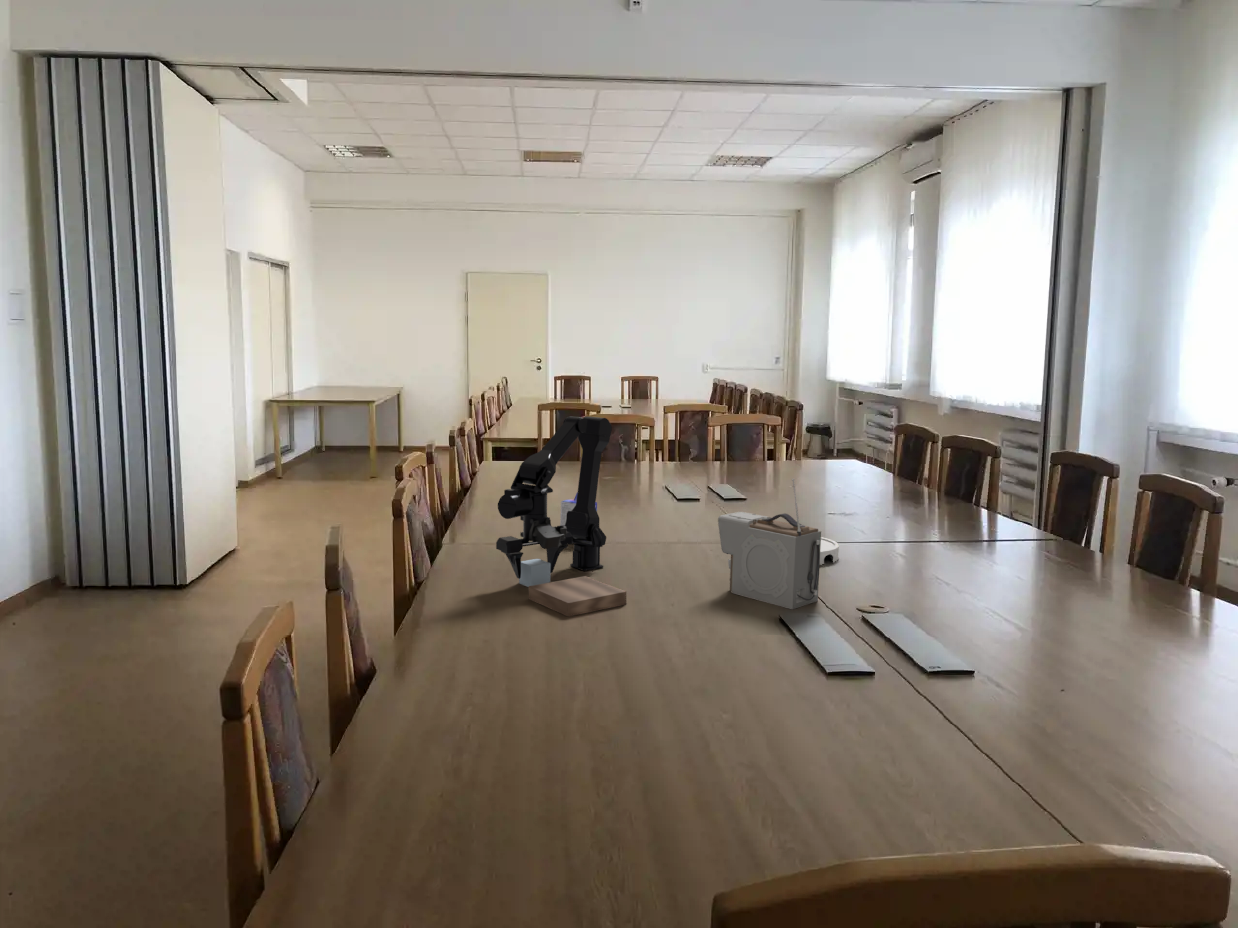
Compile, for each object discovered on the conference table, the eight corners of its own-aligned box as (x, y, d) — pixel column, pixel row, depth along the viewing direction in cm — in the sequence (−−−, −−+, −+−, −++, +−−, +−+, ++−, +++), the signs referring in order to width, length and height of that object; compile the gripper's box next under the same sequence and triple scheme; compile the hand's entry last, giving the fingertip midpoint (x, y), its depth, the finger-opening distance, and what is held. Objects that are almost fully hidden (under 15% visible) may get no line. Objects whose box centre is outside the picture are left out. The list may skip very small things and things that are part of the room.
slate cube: (538, 580, 225) (538, 558, 225) (550, 585, 221) (550, 563, 220) (519, 583, 222) (519, 561, 221) (531, 588, 218) (531, 566, 217)
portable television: (741, 580, 228) (746, 462, 224) (822, 601, 211) (829, 474, 207) (710, 589, 220) (714, 467, 215) (792, 611, 203) (799, 479, 199)
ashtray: (832, 548, 266) (833, 535, 266) (843, 568, 243) (844, 553, 243) (752, 545, 269) (753, 532, 268) (756, 564, 246) (757, 550, 245)
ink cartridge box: (597, 542, 267) (598, 494, 265) (587, 546, 262) (588, 496, 260) (569, 538, 272) (570, 490, 270) (559, 541, 267) (559, 493, 265)
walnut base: (585, 588, 219) (585, 575, 218) (626, 604, 206) (626, 591, 206) (528, 598, 209) (528, 586, 208) (568, 616, 196) (568, 603, 196)
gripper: (519, 522, 207) (519, 588, 209) (586, 514, 219) (585, 577, 221) (495, 514, 216) (495, 578, 218) (560, 506, 227) (559, 567, 229)
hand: (534, 575), depth 221 cm, fingers open, 9 cm apart
